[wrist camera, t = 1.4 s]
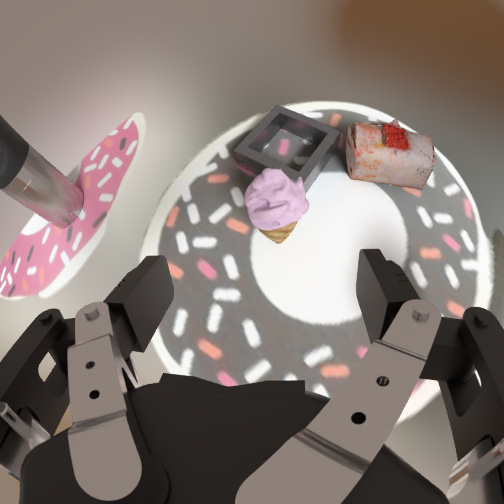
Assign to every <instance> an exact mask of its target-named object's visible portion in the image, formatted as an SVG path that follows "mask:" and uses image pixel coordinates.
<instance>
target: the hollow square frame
mask: <svg viewBox="0 0 504 504" xmlns="http://www.w3.org/2000/svg"><path fill="white" fill-rule="evenodd" d="M280 129H284V130H286V131H288V132H291V133H293V134H295V135H297V136H300V137H302V138H304V139H306V140H308V141H311V142H313V143H315V144H317V145H319V146H318V147H317V149H316V150H315V151H314V153H313V154H312V155H311V157H310V158H309V159H308V161H307V162H306V163H305V165H304V166H303V167H302V169H301V170H300V171H299V172H297V171H295V170H293V169H291V168H290V167H288V166H286V165H284V164H281V163H279V162H277V161H275V160H273V159H271V158H269V157H267V156H265V155H263V154H261V153H260V152H261V151H262V149H263V148H264V147H265V146H266V145H267V144H268V143H269V141H270V140H271V139H272V138H273V137H274V136H275V135H276V134H277V132H278V131H279V130H280ZM340 134H341V132H340V131H338V130H336V129H334V128H332V127H329V126H327V125H325V124H323V123H320V122H318V121H316V120H313V119H311V118H309V117H306V116H304V115H302V114H299V113H297V112H294V111H292V110H289V109H286V108H284V107H281V106H278V105H276V106H275V107H274V108H273V109H272V110H271V111H270V112H269V113H268V114H267V115H266V116H265V117H264V119H263V120H262V121H261V122H260V123H259V124H258V125H257V126H256V127H255V128H254V129H253V130H252V131H251V132H250V133H249V134H248V135H247V137H246V138H245V139H244V140H243V141H242V142H241V143H240V144H239V145H238V146H237V147H236V149H235V150H234V152H235V156H236V159H237V162H238V165H239V166H241V167H243V168H245V169H247V170H249V171H251V172H253V173H255V174H257V175H260V174H262V171H263V170H264V169H266V168H271V169H279V170H280V168H281V170H282V171H283V172H284V174H285V175H286V176H288V178H289V179H290V180H291V181H293V182H296V181H297V180H298V178H299V177H301V178H302V181H303V187H304V190H305V194H306V192H307V191H308V190H309V188H310V187H311V185H312V184H313V183H314V181H315V180H316V178H317V177H318V176H319V174H320V173H321V171H322V170H323V168H324V167H325V166H326V164H327V163H328V161H329V160H330V159H331V157H332V156H333V154H334V153H335V151H336V150H337V149H338V146H339V140H340Z"/></svg>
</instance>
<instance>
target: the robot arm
mask: <svg viewBox="0 0 504 504" xmlns="http://www.w3.org/2000/svg"><path fill="white" fill-rule="evenodd" d="M0 190H2V191H3V192H5V193H6V194H7V195H9V196H10V197H12V198H13V199H15V200H16V201H18V202H19V203H21V204H22V205H24V206H25V207H27V208H28V209H30V210H31V211H33V212H34V213H36V214H38V215H39V216H41V217H42V218H44V219H45V220H47V221H48V222H50V223H52V224H53V225H55V226H57V227H58V228H64V227H67V226H68V225H70V224H71V223H72V222H73V221H74V220H75V219H76V217H77V216H78V214H79V212H80V210H81V208H82V205H83V199H84V196H83V192H82V190H81V189H79V188H78V187H77V186H76V185H75V184H74V183H72V182H71V181H70V180H69V179H68V178H67V177H66V176H64V175H63V174H62V173H61V172H60V171H59V170H57V169H56V168H55V167H54V166H53V165H52V164H50V162H48V161H47V160H46V159H45V158H44V157H43V156H42V155H41V154H40V153H38V152H37V151H36V150H35V149H34V148H33V147H32V146H30V145H29V144H28V143H27V142H26V141H25V140H24V139H23V138H22V137H21V136H20V135H19V134H18V133H17V132H16V131H15V130H14V129H13V128H12V127H11V126H10V125H9V124H8V123H7V122H6V121H5V120H4V119H3V117H2V116H1V115H0ZM356 294H357V299H358V302H359V306H360V309H361V312H362V315H363V318H364V322H365V325H366V328H367V332H368V335H369V339H370V342H371V346H370V348H369V349H368V351H367V352H366V354H365V355H364V356H363V358H362V359H361V361H360V362H359V363H358V365H357V366H356V368H355V369H354V370H353V372H352V373H351V374H350V376H349V377H348V378H347V379H346V381H345V382H344V383H343V385H342V386H341V387H340V388H339V390H338V391H337V392H336V393H335V395H334V396H333V397H332V398H331V399H330V398H328V397H325V396H323V395H320V394H317V393H313V392H309V391H305V380H296V381H263V382H257V383H251V384H245V385H238V386H230V387H229V386H223V385H220V384H217V383H213V382H210V381H207V380H204V379H201V378H197V377H194V376H185V375H176V374H168V373H163V374H162V377H161V379H160V381H159V383H153V384H148V385H144V386H141V384H140V381H139V378H138V375H137V372H136V369H135V366H134V363H133V360H132V358H131V356H130V354H131V352H132V351H136V352H143V353H144V351H145V349H146V348H147V346H148V344H149V342H150V340H151V338H152V337H153V335H154V333H155V331H156V329H157V328H158V326H159V324H160V322H161V320H162V318H163V317H164V315H165V313H166V311H167V310H168V308H169V306H170V304H171V302H172V301H173V297H174V287H173V283H172V279H171V275H170V271H169V268H168V264H167V260H166V258H165V256H163V255H160V256H146V257H145V258H144V260H143V261H142V262H141V263H140V264H139V265H138V266H137V267H136V268H135V269H133V270H132V271H130V272H129V273H127V275H126V276H125V277H124V278H123V279H122V281H120V283H119V284H118V285H117V287H115V288H114V290H113V291H112V292H111V293H110V294H109V295H108V297H107V298H106V299H105V300H104V301H103V302H94V303H91V304H88V305H86V306H84V307H83V308H81V309H80V310H79V311H78V313H77V314H76V317H75V318H71V319H64V318H63V316H62V314H61V312H60V310H58V309H49V310H46V311H44V312H42V313H41V314H40V315H38V316H37V317H36V318H35V320H34V321H33V322H32V323H31V324H30V325H29V327H28V328H27V329H26V330H25V332H24V333H23V334H22V335H21V336H20V338H19V339H18V340H17V341H16V342H15V344H14V345H13V346H12V348H11V349H10V350H9V351H8V353H7V354H6V355H5V357H4V358H3V359H2V361H1V362H0V468H1V469H2V470H3V471H5V472H7V473H9V474H10V475H11V476H13V477H14V478H16V479H17V480H19V481H20V497H19V504H504V329H503V328H502V326H501V325H500V323H499V322H498V320H497V318H496V317H495V316H494V315H493V314H492V313H491V312H490V311H488V310H486V309H484V308H481V307H470V308H468V309H466V311H465V312H464V314H463V317H462V319H454V318H446V317H442V316H441V312H440V310H439V309H438V308H437V307H436V306H435V305H434V304H432V303H430V302H428V301H425V300H421V299H420V298H419V296H418V294H417V293H416V291H415V289H414V288H413V286H412V284H411V283H410V282H409V280H408V278H407V276H405V273H404V272H403V270H402V269H401V267H400V266H399V265H397V264H396V263H394V262H393V261H392V260H388V261H386V259H385V258H384V256H383V254H382V253H381V251H380V250H379V249H361V250H360V253H359V262H358V273H357V282H356ZM48 352H49V353H50V355H51V356H52V357H53V359H54V361H55V362H56V365H55V366H54V368H53V369H52V371H51V373H50V374H49V376H48V377H47V379H46V381H45V382H43V380H42V379H41V378H40V376H39V373H38V367H39V364H40V363H41V361H42V360H43V358H44V357H45V355H46V354H47V353H48ZM476 370H477V373H478V375H479V378H480V381H481V386H480V383H479V381H478V378H477V376H476V374H475V371H476ZM418 378H421V379H430V380H438V383H439V386H440V389H441V393H442V396H443V399H444V403H445V406H446V410H447V414H448V418H449V422H450V426H451V430H452V434H453V438H454V443H455V448H456V453H457V458H458V462H457V463H456V465H455V466H454V467H453V469H452V471H451V473H450V478H449V486H448V492H447V495H445V494H444V493H443V492H442V491H441V490H440V489H439V488H437V487H436V486H435V485H434V484H432V483H431V482H430V481H429V480H427V479H426V478H425V477H424V476H422V475H421V474H420V473H419V472H417V471H416V470H415V469H414V468H413V467H411V466H410V465H409V464H408V463H407V462H405V461H404V460H403V459H402V458H401V457H399V456H398V455H397V454H395V452H393V451H392V450H391V449H390V448H389V447H387V446H386V445H385V444H384V442H385V441H386V439H387V437H388V435H389V434H390V432H391V431H392V429H393V427H394V425H395V424H396V422H397V420H398V418H399V417H400V415H401V413H402V411H403V409H404V407H405V405H406V403H407V401H408V399H409V397H410V395H411V393H412V391H413V389H414V387H415V385H416V383H417V381H418ZM69 403H70V406H71V416H72V426H71V427H69V428H68V429H66V430H64V431H62V432H60V433H59V434H57V435H55V436H53V435H54V433H55V431H56V429H57V427H58V425H59V423H60V421H61V419H62V417H63V415H64V413H65V411H66V409H67V407H68V405H69Z"/></svg>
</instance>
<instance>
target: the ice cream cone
mask: <svg viewBox="0 0 504 504" xmlns="http://www.w3.org/2000/svg"><path fill="white" fill-rule="evenodd" d="M244 203H245V205H246V207H247V212H248V216H249V218H250V220H251V222H252V224H253V225H254V226H255V227H256V228H258V229H259V230H260V231H261V232H262V233H263V234H264V235H265V236H266V237H268V238H269V239H271V240H272V241H274V242H276V243H278V244H279V243H282V242H283V241H284V240H285V239H286V238H287V237H288V236H289V234H290V233H291V232H292V230H293V229H294V227H295V226H296V224H297V222H298V220H300V218H301V217H302V215H303V214H304V213H305V212H306V211H307V210H308V208H309V203H308V201H307V199H306V198H305V190H304V187H303V181H302V178H301V177H299V178H298V180H297V181H296V182H293V181H291V180H290V179H289V178H288V176H286V175H285V174H284V172H283V171H282V170H281V168H280V170H279V169H271V168H266V169H264V170H263V171H262V174H260V175H258V176H257V177H255V179H254V180H253V182H252V183H251V184H250V185H249V186H248V188H247V190H246V193H245V197H244Z"/></svg>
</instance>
